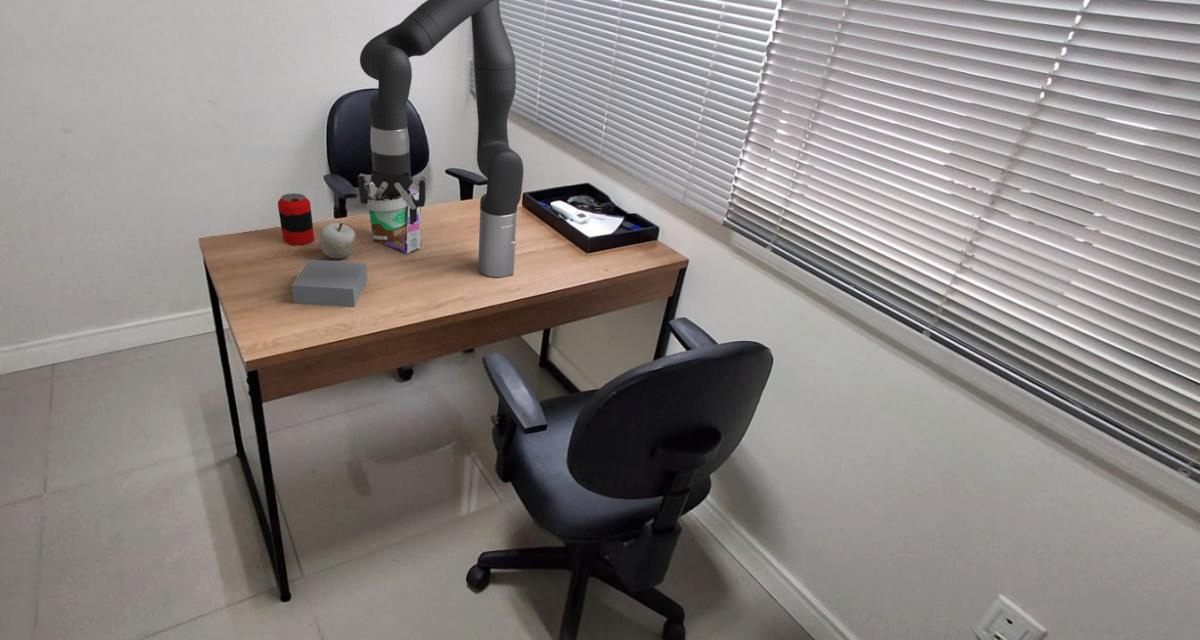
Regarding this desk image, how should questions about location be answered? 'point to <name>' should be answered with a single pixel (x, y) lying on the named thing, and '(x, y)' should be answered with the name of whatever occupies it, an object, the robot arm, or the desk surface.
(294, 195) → the soda can
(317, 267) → the grey block
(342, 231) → the decorative object
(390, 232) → the food container
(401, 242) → the candy box
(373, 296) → the desk surface
